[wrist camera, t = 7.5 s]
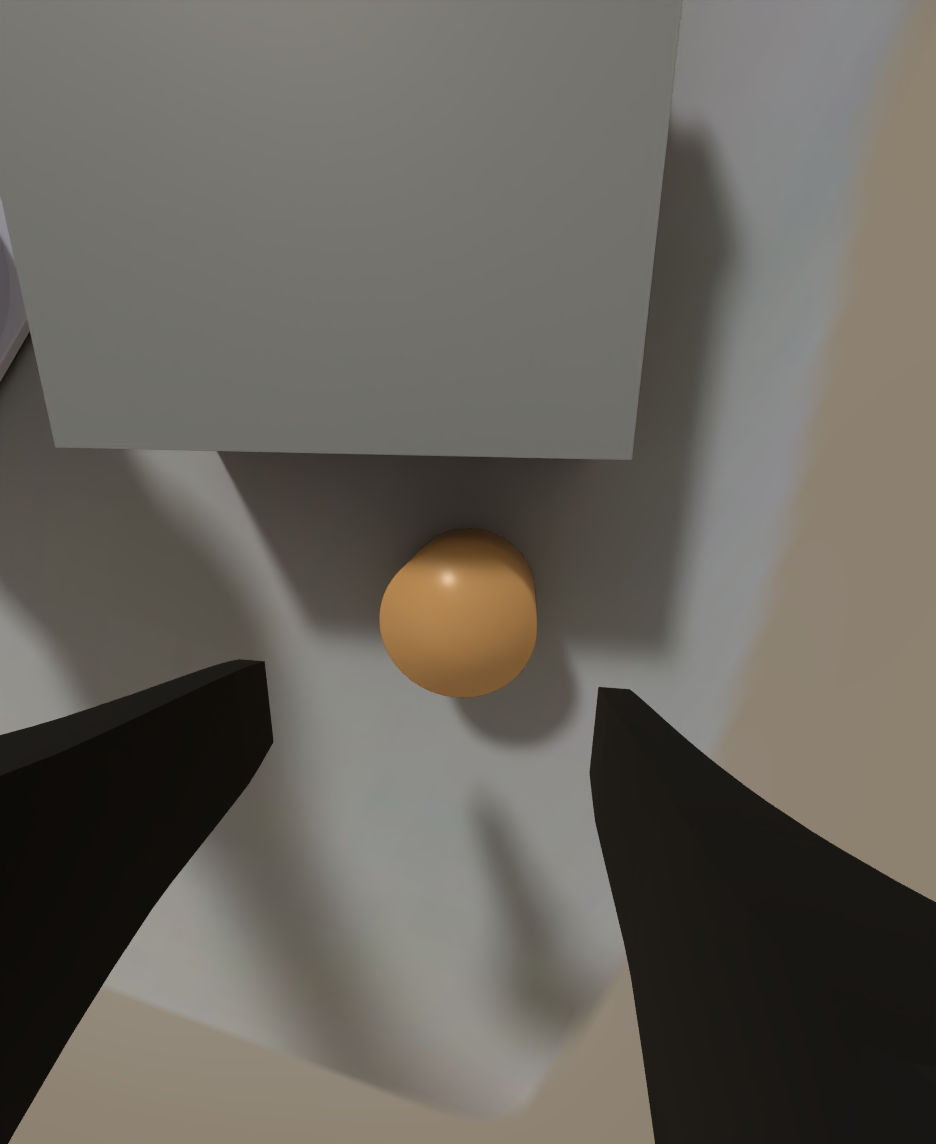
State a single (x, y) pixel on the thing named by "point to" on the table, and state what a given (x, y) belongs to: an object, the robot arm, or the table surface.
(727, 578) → the table surface
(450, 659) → the orange rounded block
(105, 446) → the lid
